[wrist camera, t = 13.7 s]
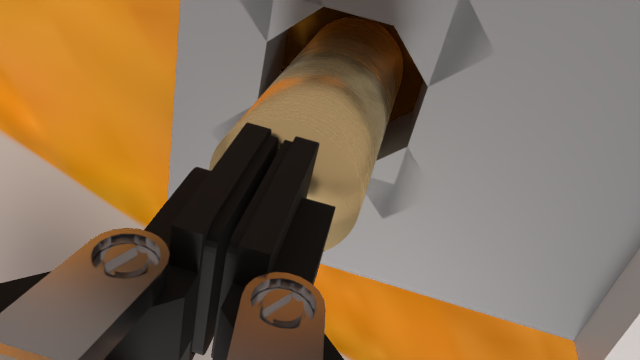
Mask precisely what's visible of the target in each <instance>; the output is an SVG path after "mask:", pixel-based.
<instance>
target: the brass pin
mask: <svg viewBox="0 0 640 360" xmlns="http://www.w3.org/2000/svg"><path fill="white" fill-rule="evenodd" d="M402 76H403V58H402V53H401V50H400V48H399V46H398V43H397V42H396V40H395V39H394V37H393V36H392V35H391V34H390V32H388V31H387V30H386V29H385V28H384V27H383V26H381V25H380V24H378V23H376V22H374V21H372V20H369V19H366V18H361V17H345V18H340V19H337V20H334V21H332V22H330V23H329V24H327V25H326V26H324V27H323V28H322V29H321V30H320V31H319V32H318V33H317V34H316V35H315V36H314V37H313V39H312V40H311V41H310V42H309V43H308V44H307V45H306V46H305V47H304V49H303V50H302V51H301V52H300V53H299V54H298V55H297V56H296V58H295V59H294V60H293V61H292V62H291V63H290V64H289V65H288V66H287V68H286V69H285V70H284V71H283V72H282V73H281V74H280V75H279V77H278V78H277V79H276V80H275V81H274V82H273V83H272V84H271V85H270V87H269V88H268V89H267V90H266V91H265V92H264V93H263V94H262V96H261V97H260V98H259V99H258V100H257V101H256V102H255V103H254V104H253V106H252V107H251V108H250V109H249V110H248V111H247V112H246V113H245V115H244V116H243V117H242V118H241V119H240V120H239V121H238V122H237V123H236V125H235V126H234V127H233V128H232V129H231V130H230V131H229V132H228V134H227V135H226V136H225V137H224V138H223V139H222V140H221V142H220V143H219V144H218V146H217V147H216V149H215V151H214V153H213V155H212V158H211V161H210V167H209V170H210V171H211V170H212V169H213V168H214V166H215V165H216V164H217V162H218V161H219V159H220V158H221V157H222V155H223V154H224V153H225V151H226V150H227V149H228V147H229V146H230V144H231V143H232V142H233V140H234V139H235V138H236V136H237V135H238V134H239V132H240V131H241V129H242V128H243V127H244V125H245V124H246V123H247V122H248V123H252V124H255V125H259V126H262V127H266V128H269V129H271V136H274V137H278V139H279V140H278V147H277V152H276V155H277V153H278V151H279V149H280V147H281V146H282V144H283V142H284V140H288V141H292V142H293V140H294V138H295V137H296V136H298V137H301V138H305V139H308V140H312V141H315V142H319V148H318V153H317V157H316V161H315V165H314V169H313V174H312V178H311V182H310V186H309V190H308V194H307V199H310V200H314V201H317V202H321V203H324V204H328V205H331V206H335V207H336V208H335V212H334V216H333V219H332V223H331V226H330V230H329V233H328V237H327V241H326V244H325V248H324V251H326V250H328V249H331V248H333V247H334V246H336V245H337V244H339V243H340V242H341V241H342V240H344V239H345V238H346V237H347V235H348V234H349V233H350V232H351V230H352V229H353V227H354V225H355V224H356V221H357V219H358V216H359V213H360V210H361V207H362V203H363V200H364V197H365V194H366V191H367V188H368V184H369V181H370V178H371V175H372V172H373V169H374V165H375V162H376V159H377V156H378V153H379V150H380V146H381V143H382V140H383V137H384V134H385V131H386V127H387V124H388V121H389V118H390V115H391V112H392V108H393V105H394V102H395V99H396V96H397V93H398V89H399V86H400V83H401V80H402ZM324 251H323V252H324Z"/></svg>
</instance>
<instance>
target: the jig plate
mask: <svg viewBox="0 0 640 360" xmlns="http://www.w3.org/2000/svg"><path fill="white" fill-rule="evenodd" d="M322 7H327V8H331V9H335V10H338V11H342V12H346V13H349V14H353V15H357V16H360V17H364V18H368V19H371V20H375V21H379V22H382V23H386V24H390V25H393V26H394V27H395V29H396V30H397V32H398V34H399V36H400V38H401V39H402V41H403V43H404V45H405V47H406V48H407V50H408V52H409V54H410V56H411V57H412V59H413V61H414V63H415V65H416V66H417V68H418V70H419V72H420V74H421V75H422V77H423V82H422V85H421V88H420V91H419V94H418V97H417V100H416V103H415V106H414V109H413V111H411V112H409V113H407V114H405V115H403V116H400V117H398V118H396V119H394V120H392V121H390V122H388V124H387V127H386V131H385V134H384V137H383V140H382V143H381V146H380V150H379V153H378V156H377V159H376V162H375V165H374V169H373V172H372V175H371V178H370V181H369V184H368V188H367V191H366V194H365V197H364V200H363V203H362V207H361V210H360V213H359V216H358V219H357V221H356V224H355V225H354V227H353V229H352V230H351V232H350V233H349V234H348V235H347V237H346V238H345V239H344V240H342V241H341V242H340V243H339V244H337V245H336V246H334V247H333V248H331V249H328V250H326V251H324V252H323V254H322V258H321V261H320V264H323V265H327V266H330V267H333V268H337V269H340V270H343V271H346V272H350V273H353V274H356V275H359V276H363V277H366V278H369V279H373V280H376V281H379V282H382V283H386V284H389V285H392V286H396V287H399V288H402V289H405V290H409V291H412V292H415V293H419V294H422V295H425V296H428V297H432V298H435V299H438V300H441V301H445V302H448V303H451V304H455V305H458V306H461V307H464V308H468V309H471V310H474V311H478V312H481V313H484V314H487V315H491V316H494V317H497V318H500V319H504V320H507V321H510V322H514V323H517V324H520V325H523V326H527V327H530V328H533V329H537V330H540V331H543V332H546V333H550V334H553V335H556V336H559V337H563V338H566V339H569V340H573V341H574V343H575V347H576V351H577V355H578V359H579V360H640V0H181V4H180V19H179V34H178V50H177V65H176V80H175V96H174V111H173V127H172V142H171V157H170V173H169V188H168V199H169V198H170V197H171V196H172V194H173V193H174V192H175V191H176V189H177V188H178V187H179V186H180V184H181V183H182V182H183V181H184V179H185V178H186V177H187V176H188V174H189V173H190V172H191V171H192V170H193V169H194V168H195V167H200V168H203V169H207V170H209V167H210V161H211V158H212V155H213V153H214V151H215V149H216V147H217V146H218V144H219V143H220V142H221V140H222V139H223V138H224V137H225V136H226V135H227V134H228V132H229V131H230V130H231V129H232V128H233V127H234V126H235V125H236V123H237V122H238V121H239V120H240V119H241V118H242V117H243V116H244V115H245V113H246V112H247V111H248V110H249V109H250V108H251V107H252V106H253V104H254V103H255V102H256V101H257V100H258V99H259V98H260V97H261V96H262V94H263V93H264V92H265V91H266V90H267V89H268V88H269V87H270V85H271V84H272V83H273V82H274V81H275V80H276V79H277V78H278V77H279V75H280V74H281V70H282V64H283V58H284V53H285V47H286V42H287V36H288V31H289V28H290V27H292V26H293V25H295V24H297V23H298V22H300V21H301V20H303V19H305V18H306V17H308V16H309V15H311V14H313V13H314V12H316V11H317V10H319V9H321V8H322Z"/></svg>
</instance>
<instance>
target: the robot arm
mask: <svg viewBox="0 0 640 360" xmlns="http://www.w3.org/2000/svg"><path fill="white" fill-rule="evenodd" d="M278 140H279V139H278V137H274V136H271V129H269V128H266V127H262V126H259V125H255V124H252V123H248V122H247V123H246V124H245V125H244V127H243V128H242V129H241V131H240V132H239V134H238V135H237V136H236V138H235V139H234V140H233V142H232V143H231V144H230V146H229V147H228V149H227V150H226V151H225V153H224V154H223V155H222V157H221V158H220V159H219V161H218V162H217V164H216V165H215V166H214V168H213V169H212V170H211V171H210V170H207V169H203V168H200V167H195V168H194V169H193V170H192V171H191V172H190V173H189V174H188V176H187V177H186V178H185V179H184V181H183V182H182V183H181V184H180V186H179V187H178V188H177V189H176V191H175V192H174V193H173V194H172V196H171V197H170V198H169V199H168V201H167V202H166V203H165V204H164V206H163V207H162V208H161V209H160V211H159V212H158V213H157V215H156V216H155V217H154V218H153V220H152V221H151V222H150V223H149V225H148V226H147V227H146V228H145V230H141V229H133V228H122V229H113V230H111V231H107V232H104V233H101V234H100V235H98V236H96V237H95V238H93V239H91V240H90V241H89V242H88V243H86V244H85V245H84V246H83V247H81V248H80V249H79V250H78V251H76V252H75V253H74V254H73V255H71V256H70V257H69V258H68V259H67V260H65V261H64V262H63V263H62V264H61V265H59V266H58V267H57V268H55V269H54V270H53V271H51V272H46V273H42V274H38V275H34V276H29V277H26V278H21V279H17V280H13V281H9V282H4V283H0V360H192V359H193V357H194V355H195V353H198V354H201V355H204V354H205V353H206V351H207V349H208V347H209V345H210V343H211V341H212V339H213V337H214V340H213V347H212V354H211V357H212V358H213V360H344V359H343V358H342V356H341V355H340V354H339V352H338V351H337V350H336V348H335V347H334V345H333V344H332V343H331V341H330V340H329V339H328V337H327V336H326V335H325V333H324V329H325V303H324V299H323V297H322V296H321V294H320V292H319V290H318V289H317V288H316V287H315V286H313V285H314V282H315V278H316V275H317V272H318V268H319V265H320V261H321V258H322V254H323V251H324V248H325V244H326V241H327V237H328V233H329V230H330V226H331V223H332V219H333V216H334V212H335V208H336V207H335V206H331V205H328V204H324V203H321V202H317V201H314V200H310V199H307V194H308V190H309V186H310V182H311V178H312V174H313V169H314V165H315V161H316V157H317V153H318V148H319V142H315V141H312V140H308V139H305V138H301V137H298V136H296V137H295V138H294V140H293V142H292V141H288V140H284V142H283V144H282V146H281V147H280V149H279V151H278V153H277V155H276V152H277V147H278Z"/></svg>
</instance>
